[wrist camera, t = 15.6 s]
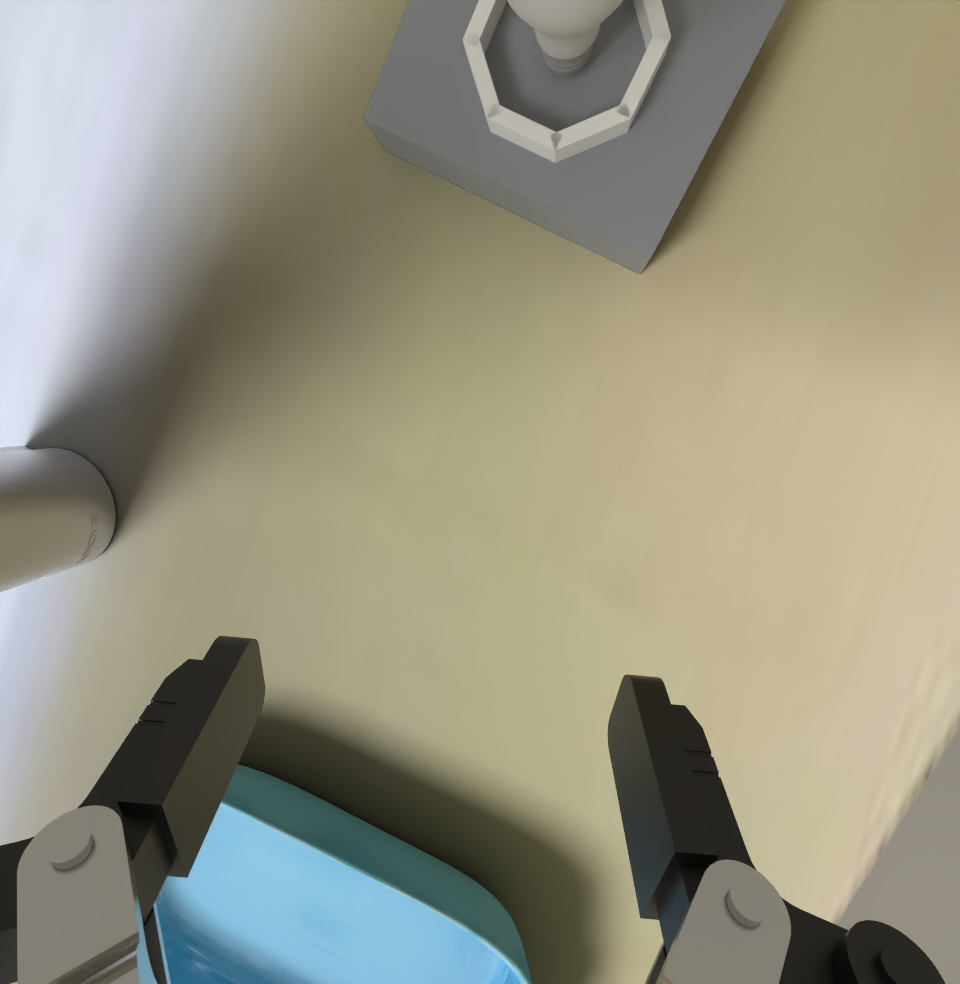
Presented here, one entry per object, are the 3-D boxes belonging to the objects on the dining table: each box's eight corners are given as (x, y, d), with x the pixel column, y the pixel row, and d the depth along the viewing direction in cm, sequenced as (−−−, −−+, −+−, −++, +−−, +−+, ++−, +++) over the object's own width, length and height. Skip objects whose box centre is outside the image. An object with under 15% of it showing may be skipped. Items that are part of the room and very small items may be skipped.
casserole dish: (101, 899, 48) (24, 983, 41) (167, 690, 44) (93, 744, 37) (482, 1094, 46) (469, 1218, 39) (593, 893, 42) (600, 993, 35)
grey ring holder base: (384, 150, 35) (353, 104, 29) (481, -91, 32) (466, -191, 27) (640, 274, 34) (655, 250, 28) (763, 38, 31) (807, -39, 26)
